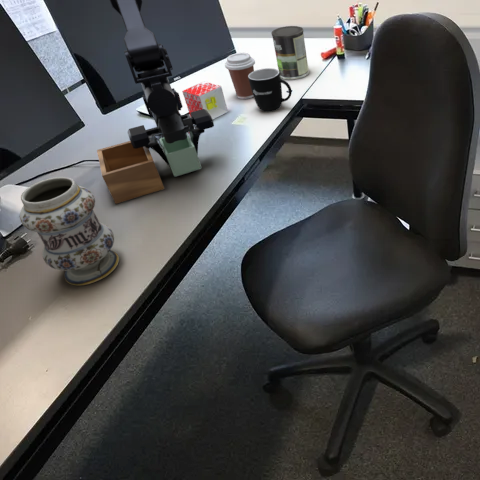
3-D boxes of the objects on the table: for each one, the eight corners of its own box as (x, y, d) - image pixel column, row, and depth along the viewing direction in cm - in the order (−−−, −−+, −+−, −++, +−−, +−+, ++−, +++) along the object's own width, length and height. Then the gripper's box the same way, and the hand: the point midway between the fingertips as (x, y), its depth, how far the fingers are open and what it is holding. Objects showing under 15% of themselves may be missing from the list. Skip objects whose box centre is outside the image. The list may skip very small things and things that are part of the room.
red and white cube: (207, 122, 140) (199, 96, 135) (190, 116, 144) (182, 91, 139) (228, 111, 145) (221, 85, 140) (211, 106, 149) (204, 81, 144)
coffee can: (284, 82, 159) (276, 37, 151) (275, 72, 167) (267, 30, 158) (313, 75, 162) (307, 31, 153) (303, 66, 170) (297, 23, 161)
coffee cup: (267, 92, 154) (259, 54, 146) (244, 103, 149) (234, 63, 141) (250, 86, 159) (241, 49, 151) (227, 96, 154) (217, 58, 146)
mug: (250, 113, 142) (242, 79, 136) (262, 100, 149) (255, 67, 143) (289, 114, 140) (282, 80, 133) (299, 101, 146) (293, 68, 140)
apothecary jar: (133, 245, 98) (95, 167, 86) (112, 287, 88) (66, 207, 77) (74, 250, 98) (29, 173, 86) (46, 292, 88) (-9, 213, 77)
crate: (109, 176, 120) (96, 149, 115) (154, 163, 123) (144, 136, 118) (115, 204, 110) (101, 175, 105) (164, 188, 113) (153, 160, 109)
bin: (167, 160, 122) (158, 138, 118) (193, 152, 124) (185, 131, 120) (174, 176, 115) (166, 154, 111) (201, 168, 117) (194, 146, 114)
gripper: (122, 123, 100) (148, 186, 110) (210, 100, 106) (228, 162, 116) (116, 105, 108) (141, 166, 118) (198, 84, 114) (216, 144, 124)
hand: (182, 159), depth 119 cm, fingers closed on bin, 6 cm apart
